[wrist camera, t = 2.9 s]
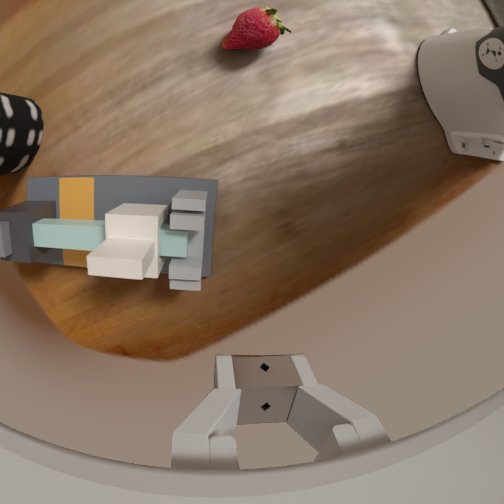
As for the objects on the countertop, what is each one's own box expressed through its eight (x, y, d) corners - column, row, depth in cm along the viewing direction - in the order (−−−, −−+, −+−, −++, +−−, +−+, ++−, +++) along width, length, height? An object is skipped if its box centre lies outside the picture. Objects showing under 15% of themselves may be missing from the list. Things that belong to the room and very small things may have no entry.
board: (217, 179, 25) (217, 180, 24) (210, 272, 28) (210, 277, 27) (32, 177, 22) (26, 178, 21) (37, 258, 24) (32, 262, 23)
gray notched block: (207, 191, 24) (205, 201, 19) (202, 266, 26) (200, 293, 21) (180, 189, 24) (171, 199, 18) (176, 264, 26) (168, 291, 21)
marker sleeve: (168, 205, 23) (144, 231, 15) (166, 256, 24) (146, 305, 16) (123, 203, 22) (81, 228, 14) (124, 253, 24) (88, 299, 16)
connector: (55, 200, 22) (17, 215, 16) (58, 243, 23) (23, 268, 17) (27, 200, 21) (-13, 215, 15) (30, 241, 23) (-6, 264, 16)
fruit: (210, 32, 20) (210, 9, 15) (267, 14, 20) (278, -10, 15) (229, 66, 21) (232, 47, 17) (286, 46, 21) (302, 26, 17)
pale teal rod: (189, 225, 22) (187, 231, 20) (188, 248, 23) (186, 257, 21) (28, 218, 20) (16, 223, 18) (30, 238, 20) (19, 245, 18)
